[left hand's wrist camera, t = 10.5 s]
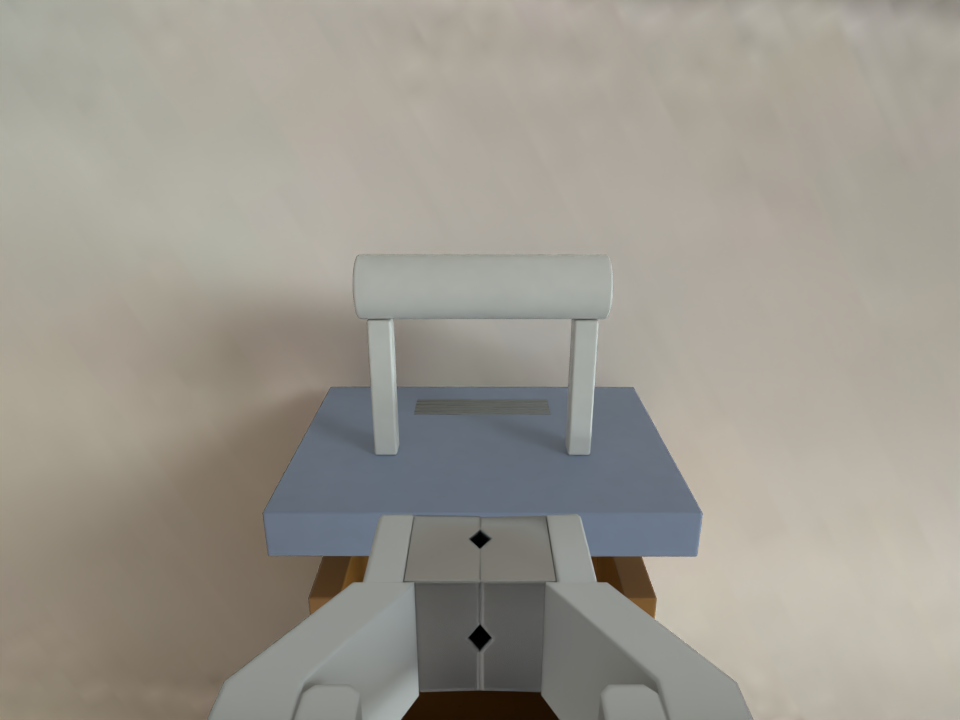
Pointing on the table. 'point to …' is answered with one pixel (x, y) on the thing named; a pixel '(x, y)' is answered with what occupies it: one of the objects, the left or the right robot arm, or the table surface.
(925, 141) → the table surface
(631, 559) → the drawer
